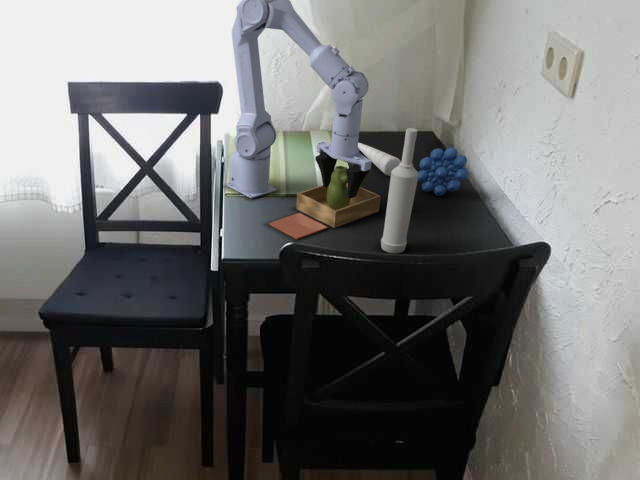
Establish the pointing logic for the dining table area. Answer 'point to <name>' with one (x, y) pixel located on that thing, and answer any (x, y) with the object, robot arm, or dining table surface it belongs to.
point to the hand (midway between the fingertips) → (339, 191)
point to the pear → (338, 189)
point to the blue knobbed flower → (442, 171)
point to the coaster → (298, 226)
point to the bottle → (400, 198)
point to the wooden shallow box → (318, 208)
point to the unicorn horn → (380, 158)
